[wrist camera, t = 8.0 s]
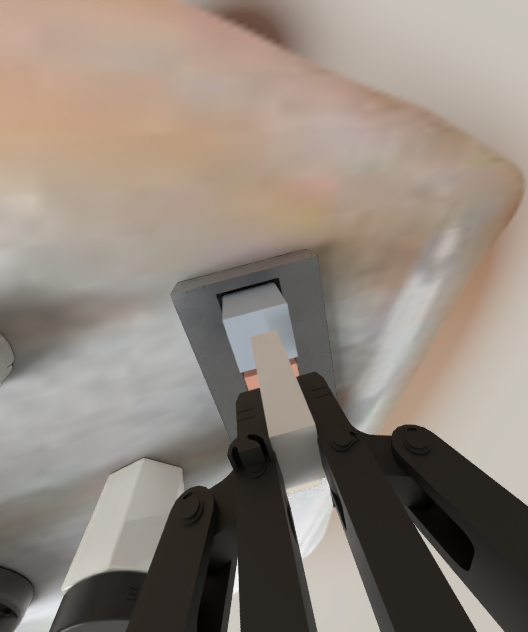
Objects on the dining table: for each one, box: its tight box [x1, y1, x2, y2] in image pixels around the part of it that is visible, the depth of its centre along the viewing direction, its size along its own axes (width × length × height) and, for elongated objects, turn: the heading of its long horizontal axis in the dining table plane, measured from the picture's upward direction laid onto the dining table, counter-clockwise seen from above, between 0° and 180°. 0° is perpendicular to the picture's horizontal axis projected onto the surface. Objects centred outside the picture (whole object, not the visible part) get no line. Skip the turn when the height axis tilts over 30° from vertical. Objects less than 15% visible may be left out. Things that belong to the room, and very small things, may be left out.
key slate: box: [222, 282, 298, 373], centre depth 18 cm, size 4×4×4 cm
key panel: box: [170, 249, 337, 442], centre depth 24 cm, size 11×23×3 cm, turn 13°
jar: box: [49, 458, 185, 632], centre depth 24 cm, size 9×8×12 cm
